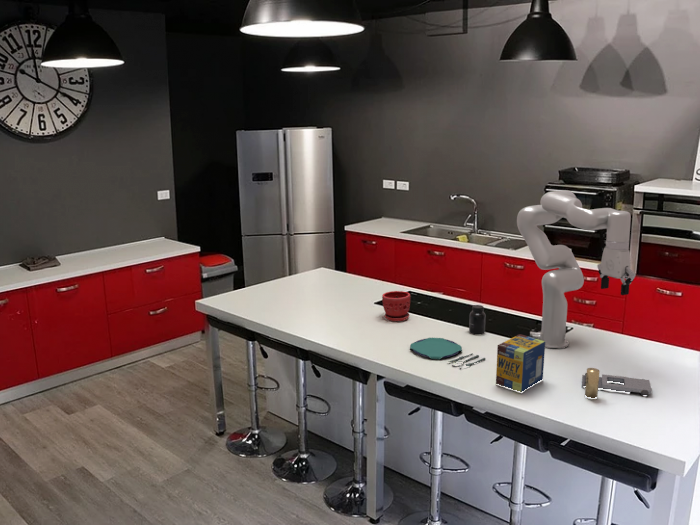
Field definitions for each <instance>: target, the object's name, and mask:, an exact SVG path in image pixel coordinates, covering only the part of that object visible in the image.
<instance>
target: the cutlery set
mask: <svg viewBox="0 0 700 525" xmlns="http://www.w3.org/2000/svg"><path fill="white" fill-rule="evenodd" d="M409 350H410V351H413V353H415V354H417V355H420V356H422V357H427V358H430V359H431V360H441V359H443V358H450V357H454V356H456V355H458V354H459V353H460V352H461V351H462V352H463V349H462V346H461V344H459V343H457V342H455V341H453V340H449V339H445V338H443V337H427V338H423V339H419V340H418V339H417V341H414V342H412V343H411V344H410V346H409ZM472 354H473V355H472ZM469 355H470V356H472V357H469ZM464 357H465V358H467V357H469V358H468V359H466V360H464V361H462V358H464ZM479 357H480V355H479V354H476V355H474V353H470V354H467V355H463V356H459V357H458V358H455V359H452V360H450V361H448V362H452V363H456V362H463V365H466V366H470V365H471V366H472V364H473V365H475V364H474V363H477V362H479V363H481V362H483V361H482V360H484V361H486V357H483V358H482V357H481V359H480V358H479ZM465 358H464V359H465ZM478 358H479V360H477V361H474V362H471V363H470V362H469V361H471V360H474V359H478ZM459 359H461V361H460V360H459ZM456 360H457V361H456ZM468 360H469V361H468ZM453 361H455V362H453ZM465 361H467V362H468V363H466V362H465ZM480 361H481V362H480ZM465 363H466V364H465ZM477 364H478V363H477ZM460 365H461V364H460ZM460 365H458V367H461V366H460ZM451 366H453V365H452V364H451ZM471 366H470V367H471ZM453 367H454V366H453Z"/></svg>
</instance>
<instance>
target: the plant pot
mask: <svg viewBox="0 0 700 525" xmlns="http://www.w3.org/2000/svg"><path fill="white" fill-rule="evenodd" d="M381 297H382V298H381V300H382V307H383V311H384V317H385V319H386V320H388V321H390V322H403V321H406V320H407V319H409V317H410V313H409V311H410V307H411V294H410V293H409V292H407V291H401V290H393V291H387V292H385V293H383V294H382V296H381Z"/></svg>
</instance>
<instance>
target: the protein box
mask: <svg viewBox="0 0 700 525" xmlns="http://www.w3.org/2000/svg"><path fill="white" fill-rule="evenodd" d="M545 349H546V347H545V341H542V340H539V339H538V338H533V336H527V335H524V334H522V333H521V334H520V333H519V334H517V335H515V336H514V337H511V338H509V339H507V340H505V341H503V342H501V343H499V344H497V350H496V351H497V352H496V369H495V370H496V372H495V373H496V375H495V385H496V384H499V385H501V386H505V387H508V388H511V389H513V390H517V391H520V392H522V391H524V390H525V389H527V388H528V387H530V386H532V385H533V384H535V383H537V382H538V381H540V380H542V379H544V366H545Z"/></svg>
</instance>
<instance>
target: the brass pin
mask: <svg viewBox="0 0 700 525" xmlns="http://www.w3.org/2000/svg"><path fill="white" fill-rule="evenodd" d="M600 372H601V370H599V369H598V368H595V367H587V368H586V373H587V375H586V387H585V389H584V396H585V395H586V396H587V397H591V398H595V397H597V398H598V393H599V390H598V384H599V377H600Z"/></svg>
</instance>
